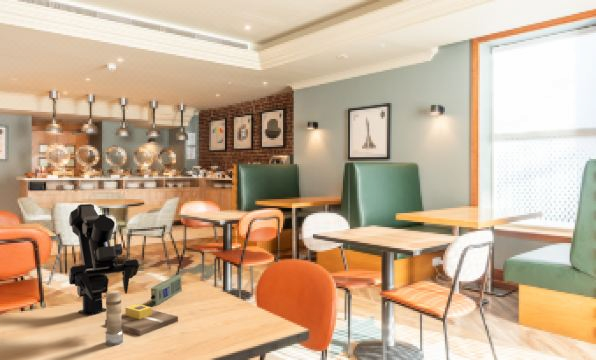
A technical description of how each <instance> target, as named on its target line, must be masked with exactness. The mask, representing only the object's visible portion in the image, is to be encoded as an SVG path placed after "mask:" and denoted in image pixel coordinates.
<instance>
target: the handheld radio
mask: <svg viewBox="0 0 596 360" xmlns="http://www.w3.org/2000/svg"><path fill="white" fill-rule="evenodd" d="M182 289H183V286H182V274H175V275H173V276H172V277H169V278H167V279H166V280H164V281H162V282H160V283H158V284H156V285H154V286H152V287H151V288H150V295H151V296H150V299H151V301H150V303H148V304H145V306H148V307H151V308H152V306H155V307H156V306H159V305H161V304H163V303H164V302H165V301H167V300H170V299H171V298H172V297H174V296H177V294H179V293H181V292H183V290H182Z"/></svg>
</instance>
